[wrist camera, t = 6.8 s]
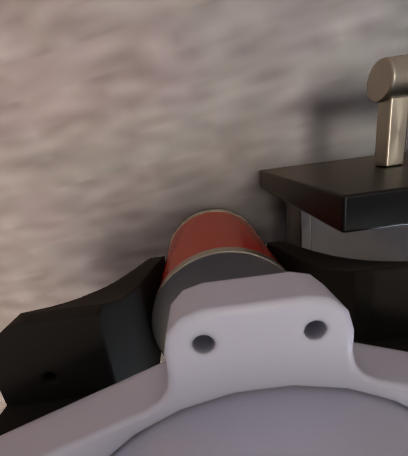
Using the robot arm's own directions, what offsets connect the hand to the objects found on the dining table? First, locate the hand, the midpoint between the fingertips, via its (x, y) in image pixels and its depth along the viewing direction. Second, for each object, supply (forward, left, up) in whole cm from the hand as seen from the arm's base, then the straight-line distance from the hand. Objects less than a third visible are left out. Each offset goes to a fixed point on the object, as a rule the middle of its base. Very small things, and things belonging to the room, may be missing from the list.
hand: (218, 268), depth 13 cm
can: (0, 0, -2) cm, 2 cm away
